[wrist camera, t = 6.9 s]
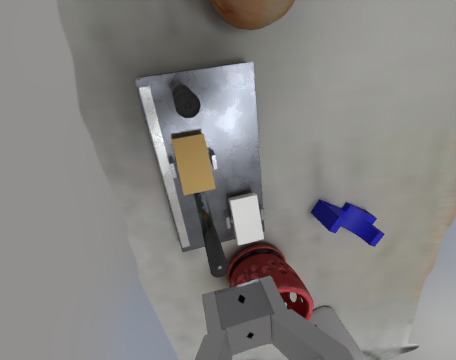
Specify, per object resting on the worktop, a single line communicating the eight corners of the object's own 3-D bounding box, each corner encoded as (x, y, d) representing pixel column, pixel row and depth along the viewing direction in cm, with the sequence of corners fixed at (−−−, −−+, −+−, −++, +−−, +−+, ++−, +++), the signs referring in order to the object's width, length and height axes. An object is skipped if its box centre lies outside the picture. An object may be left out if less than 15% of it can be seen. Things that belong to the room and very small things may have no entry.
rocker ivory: (226, 197, 36) (228, 201, 34) (254, 191, 37) (258, 194, 35) (234, 240, 37) (237, 246, 35) (260, 233, 38) (265, 238, 36)
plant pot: (269, 225, 44) (301, 275, 34) (290, 267, 51) (323, 320, 40) (207, 260, 45) (220, 320, 34) (237, 297, 51) (255, 358, 40)
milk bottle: (314, 304, 58) (379, 407, 41) (338, 306, 61) (408, 403, 43) (300, 325, 61) (354, 431, 43) (323, 326, 63) (383, 426, 46)
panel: (137, 77, 29) (104, 91, 14) (245, 62, 32) (326, 58, 16) (181, 240, 41) (191, 349, 25) (258, 221, 43) (311, 310, 28)
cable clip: (365, 210, 49) (389, 227, 44) (352, 227, 50) (374, 246, 45) (323, 192, 44) (344, 209, 39) (310, 212, 46) (329, 231, 40)
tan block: (171, 142, 31) (170, 139, 29) (204, 136, 32) (205, 133, 30) (182, 194, 31) (182, 195, 29) (215, 187, 32) (217, 188, 30)
